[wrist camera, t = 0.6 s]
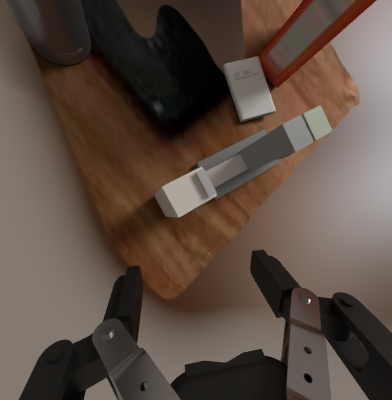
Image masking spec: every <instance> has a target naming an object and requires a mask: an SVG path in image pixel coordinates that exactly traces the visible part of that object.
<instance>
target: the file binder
mask: <svg viewBox="0 0 392 400" xmlns="http://www.w3.org/2000/svg"><path fill="white" fill-rule="evenodd" d="M375 1H376V0H303V2H302V3H301V4H300V5H299V7H298V8H297V9H296V10H295V12H294V13H293V14H292V15H291V17H290V18H289V19H288V20H287V22H286V23H285V24H284V25H283V27H282V28H281V29H280V30H279V32H278V33H277V34H276V35H275V37H274V38H273V39H272V40H271V42H270V43H269V44H268V45H267V47H266V48H265V49H264V50H263V52H262V53H261V54H260V55H259V56H258V58H259V61H260V64H261V67H262V70H263V73H264V74H265V75H266V76H267V78H268V79H269V80H270V81H271V82H272V83H273V85H274V86H275V87H276V86H277V88H278V87H279V86H280V85H281V84H282V83H283V82H284V81H286V80H287V79H288V78H289V77H290V76H291V75H292V74H294V73H295V72H296V71H297V70H298V69H299V68H300V67H301V66H303V65H304V64H305V63H306V62H307V61H308V60H309V59H311V58H312V57H313V56H314V55H315V54H316V53H317V52H318V51H320V50H321V49H322V48H323V47H324V46H325V45H326V44H328V43H329V42H330V41H331V40H332V39H333V38H334V37H335V36H337V35H338V34H339V33H340V32H341V31H342V30H343V29H344V28H346V27H347V26H348V25H349V24H350V23H351V22H352V21H353V20H355V19H356V18H357V17H358V16H359V15H360V14H361V13H362V12H364V11H365V10H366V9H367V8H368V7H369V6H371V5H372V4H373V3H374V2H375Z"/></svg>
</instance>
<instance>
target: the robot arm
mask: <svg viewBox="0 0 392 400" xmlns="http://www.w3.org/2000/svg"><path fill="white" fill-rule="evenodd" d="M4 2H5V3H6V5H7V6H8V8H9V10H10V11H11V13H12V14H13V16H14V18H15V19H16V21H17V23H18V24H19V26H20V27H21V29H22V31H23V32H24V34H25V35H26V37H27V39H28V40H29V42H30V43H31V45H32V47H33V48H34V49H35V50H36V52H37V53H39V54H40V55H41V56H42V57H44V58H45V59H47V60H49V61H51V62H54V63H57V64H61V65H72V64H76V63H79V62H81V61H83V60H84V59H85V58H86V57H87V56H88V55H89V53H90V50H91V39H90V36H89V32H88V28H87V25H86V21H85V17H84V13H83V10H82V6H81V2H80V0H4ZM250 269H251V274H252V276H253V278H254V280H255V282H256V283H257V285H258V287H259V288H260V290H261V292H262V294H263V295H264V297H265V298H266V300H267V302H268V304H269V306H270V307H271V309H272V311H273V312H274V314H275V316H276V317H277V318H280V317H284V319H285V320H286V321H285V327H284V338H283V348H282V356H281V361H279V360H277V359H275V358H272V357H268V356H264V354H263V351H262V349H258V350H253V351H249V352H244V353H242V354H240V355H238V356H237V357H235V358H233V359H232V360H230V361H228V362H226V363H222V362H212V361H201V362H196V363H191V364H187V365H185V373H183V374H181V375H180V376H178V377H177V378H176V379H175V380H174V381H173V382H172V383H171V384H169V383H168V381H167V380H166V379H165V377H164V376H163V374H162V373H161V372H160V370H159V369H158V368H157V366H156V365H155V363H154V362H153V361H152V359H151V358H150V356H149V355H148V354H147V353H146V351H145V350H144V349H143V348H141V349H140V348H139V347H138V345H137V340H138V332H139V324H140V315H141V307H142V298H143V280H142V274H141V269H140V266H131V267H128V268H127V273H126V275H124V276H120V277H119V278H118V279H117V280H116V282H115V283H114V287H113V291H112V293H111V297H110V300H109V303H108V306H107V309H106V313H105V316H104V319H103V322H102V323H101V324H100V325H99V326H98V327H97V328H96V329H95V331H94V333H93V334H91V335H90V336H88V337H86V338H84V339H82V340H80V341H78V342H76V343H73V344H72V342H71V341H69V340H60V341H57V342H55V343H54V344H52V345H51V346H49V347H48V348H47V349H46V350H45V351H44V352H43V353H42V354H41V356H40V357H39V359H38V361H37V363H36V365H35V367H34V369H33V371H32V373H31V376H30V377H29V380H28V382H27V384H26V386H25V388H24V390H23V392H22V394H21V396H20V399H19V400H84V396H85V391H86V389H88V388H89V387H91V386H93V385H95V384H96V383H98V382H100V381H101V380H103V379H105V378H107V380H108V382H109V384H110V386H111V388H112V390H113V392H114V394H115V396H116V398H117V400H331V392H330V383H329V382H330V381H329V371H328V362H327V361H328V360H327V350H326V340H325V338H326V339H327V340H328V342H329V343H330V344H331V346H332V347H333V349H334V350H335V352H336V353H337V355H338V356H339V357H340V359H341V360H342V362H343V363H344V364H345V366H346V367H347V369H348V370H349V372H350V373H351V375H352V376H353V377H354V379H355V380H356V382H357V383H358V385H359V386H360V387H361V389H362V390H363V392H364V393H365V394H366V396H367V397H368V399H369V400H392V333H391V332H390V331H389V330H388V329H387V328H386V327H385V326H384V325H383V324H382V323H381V322H380V321H379V320H378V319H377V318H376V317H375V316H374V315H373V314H372V313H371V312H370V311H369V310H368V309H367V308H366V307H365V306H364V305H363V304H361V303H360V302H359V301H358V300H357V299H356V298H354V297H353V296H351V295H349V294H346V293H341V292H338V293H335V294H334V295H333V297H332V299H331V298H323V297H317V296H316V295H315V294H314V293H313V292H311V291H309V290H307V289H305V288H301V287H300V286H299V284H298V283H297V282H296V281H295V280H294V279H293V277H292V276H291V275H290V274H289V273H288V271H286V269H285V268H284V267H283V266H282V264H281V263H280V262H279V261H278V260H277V259H275V258H274V257H273V256H268V255H267V253H266V252H265V251H264V250H255V251H252V256H251V265H250ZM354 335H355V336H356V337H357V338H358V339H357V338H356V337H355V336H354ZM360 342H361V343H362V344H363V345H362V344H361V343H360ZM365 348H366V349H365Z"/></svg>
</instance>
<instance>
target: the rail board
mask: <svg viewBox="0 0 392 400" xmlns="http://www.w3.org/2000/svg"><path fill="white" fill-rule="evenodd" d="M331 131H332V129H331V126H330V124H329V122H328V120H327V118H326V116H325V113H324V111H323V109H322V107H321V105H320V106H318V107H316V108H314V109H312V110H310V111H308V112H306V113H304V114H302V115H300V116H298V117H296V118H294V119H292V120H290V121H288V122H286V123H284V124H282V125H280V126H279V127H277V128H276V129H274V130H273V131H271V132H269V133H268V134H267V131H266V129H264V130H262V131H260V132H258V133H256V134H254V135H252V136H250V137H248V138H246V139H244V140H242V141H240V142H238V143H236V144H234V145H232V146H230V147H228V148H226V149H224V150H222V151H220V152H218V153H216V154H214V155H212V156H210V157H208V158H206V159H204V160H202V161H200V162H198V163H196V164H195V166H196V168H197V169H198V168H200V167H202V168H203V169H205V171H206V173H207V175H208V177H209V179H210V181H211V183H212V185H213V186H214V188H215V190H216V192H217V193H216V194H217V196H215V197H214V198H213V200H216V199H218V198H220V197H221V196H223V195H225V194H227V193H228V192H230V191H232V190H233V189H235V188H237V187H239V186H240V185H242V184H244V183H245V182H247V181H249V180H251V179H252V178H254V177H256V176H257V175H259V174H261V173H263V172H264V171H266V170H268V169H269V168H271V167H273V166H275V165H276V164H278V163H280V162H281V160H280V159H282V158H284V157H287V156H289V155H291V154H293V153H295V152H297V151H299V150H300V149H302V148H304V147H305V146H307V145H309V144H311V143H312V142H314V141H316V140H317V139H319V138H321V137H323V136H324V135H326V134H328V133H329V132H331Z"/></svg>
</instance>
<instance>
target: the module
mask: <svg viewBox="0 0 392 400" xmlns="http://www.w3.org/2000/svg"><path fill="white" fill-rule="evenodd" d="M216 193H217V192H216V190H215V188H214V186H213V185H212V183H211V181H210V179H209V177H208V175H207V173H206V171H205V169H203V168H202V167H200V168H198V169H196V170H194V171H192V172H190V173H188V174H186V175H184V176H182V177H180V178H178V179H176V180H174V181H172V182H170V183H168V184H166V185H164V186H162V187H161V188H160V190H159V191H158V192H157V193H156V194H155V198H156V200H157V202H158V204H159V206H160V207H161V209H162V211H163V213H164V215H165V216H166V217H177V218H179V217H181V216H182V215H184V214H186V213H188V212H189V211H193V210H194V209H196V208H198V207H200V206H201V205H203V204H205V203H207V202H208V201H209V200H210V199H212V198H214V197H215V196H217V194H216Z"/></svg>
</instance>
